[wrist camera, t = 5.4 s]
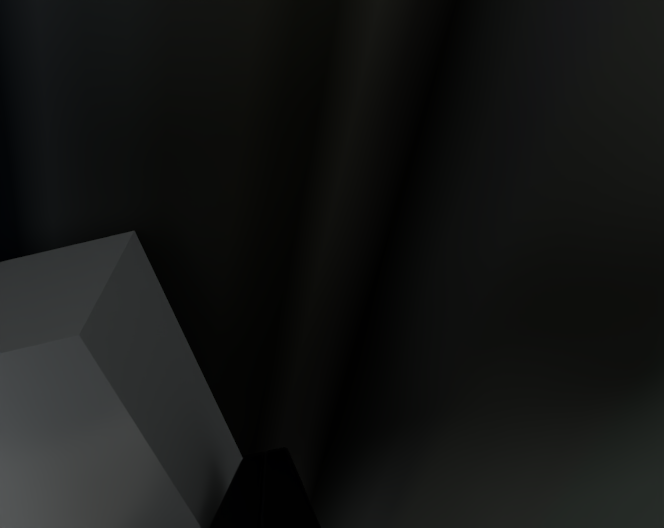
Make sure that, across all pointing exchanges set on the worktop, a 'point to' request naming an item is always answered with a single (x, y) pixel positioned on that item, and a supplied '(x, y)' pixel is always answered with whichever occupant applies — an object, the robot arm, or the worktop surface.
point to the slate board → (103, 397)
